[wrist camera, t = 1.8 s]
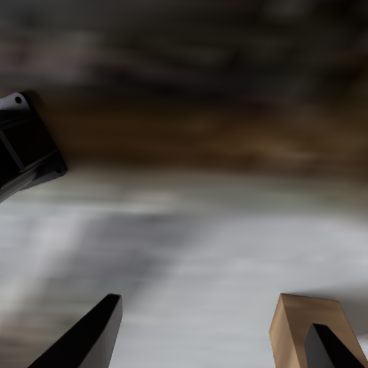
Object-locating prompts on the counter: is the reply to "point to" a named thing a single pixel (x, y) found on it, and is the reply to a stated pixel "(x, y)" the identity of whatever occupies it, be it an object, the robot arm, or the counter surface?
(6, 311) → the counter surface
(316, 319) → the walnut block
